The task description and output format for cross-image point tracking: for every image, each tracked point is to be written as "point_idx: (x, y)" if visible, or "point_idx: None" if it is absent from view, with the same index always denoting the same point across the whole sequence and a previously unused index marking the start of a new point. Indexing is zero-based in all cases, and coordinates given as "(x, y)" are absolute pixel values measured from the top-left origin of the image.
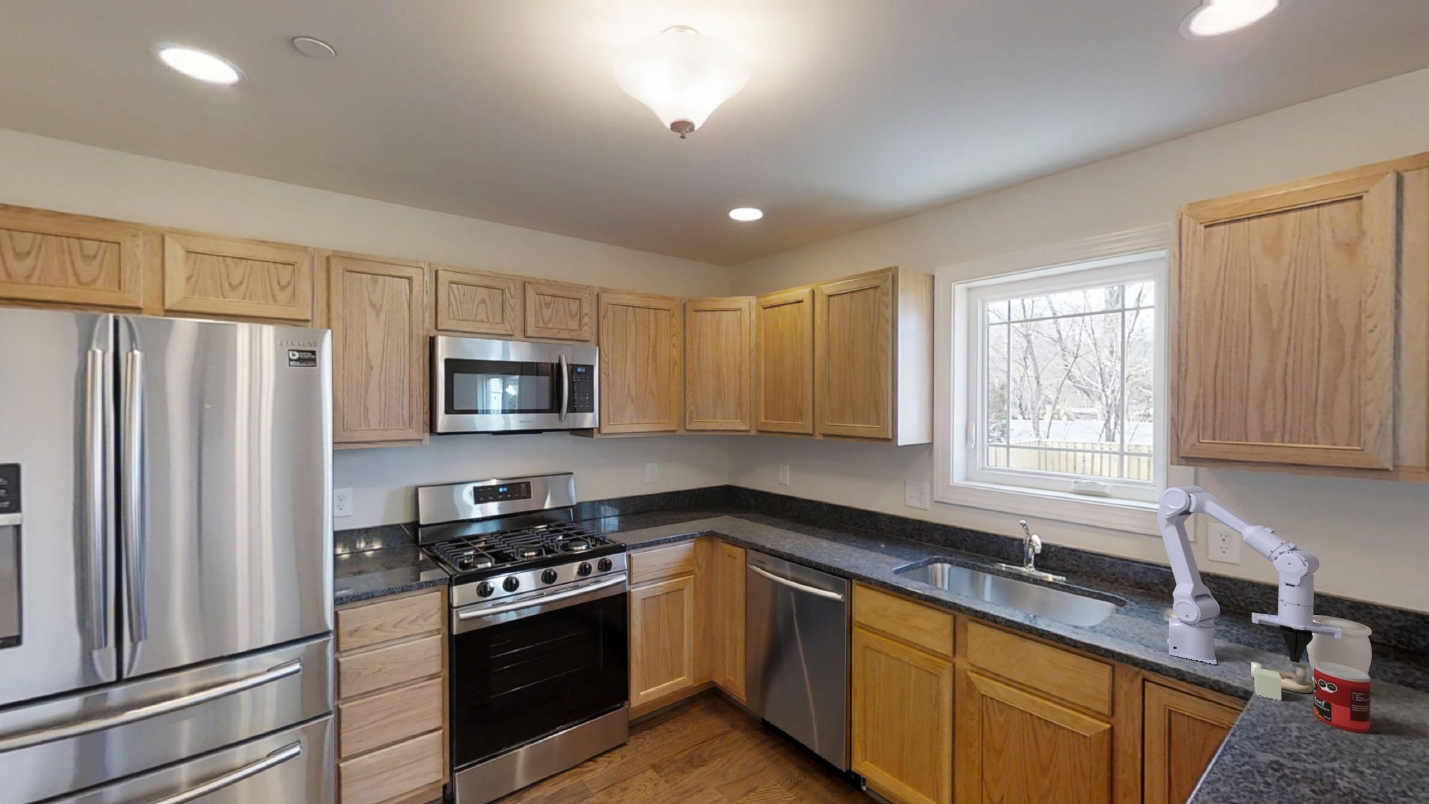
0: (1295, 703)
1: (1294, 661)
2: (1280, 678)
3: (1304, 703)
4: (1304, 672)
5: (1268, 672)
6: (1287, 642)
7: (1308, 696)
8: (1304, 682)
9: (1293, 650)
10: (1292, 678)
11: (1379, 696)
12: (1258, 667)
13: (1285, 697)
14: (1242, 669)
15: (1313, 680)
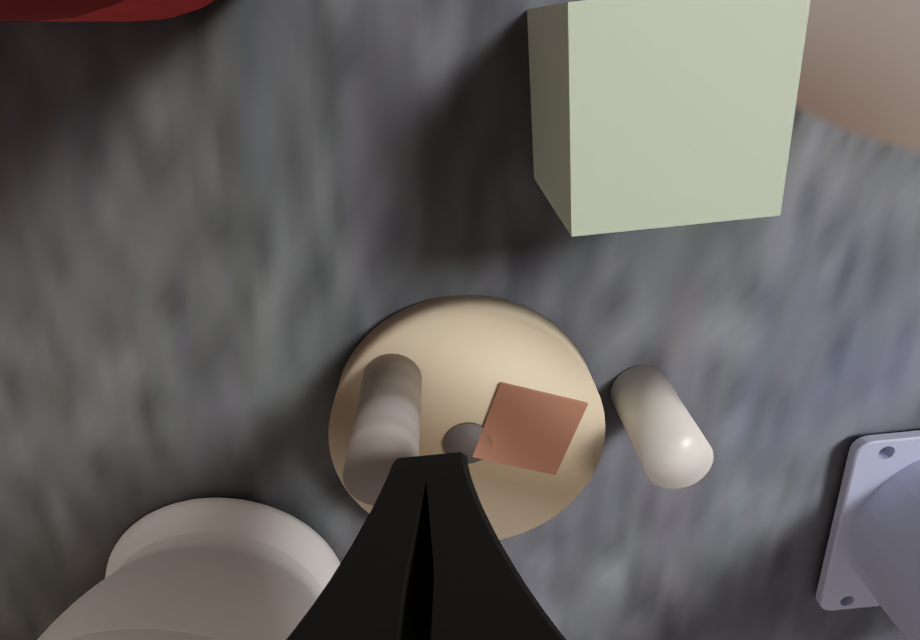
0: (430, 45)
1: (434, 457)
2: (576, 7)
3: (373, 107)
4: (360, 428)
5: (672, 136)
6: (539, 630)
7: (354, 292)
8: (369, 375)
9: (448, 549)
10: (442, 448)
11: (51, 587)
12: (662, 426)
13: (491, 135)
14: (695, 485)
15: (337, 562)
